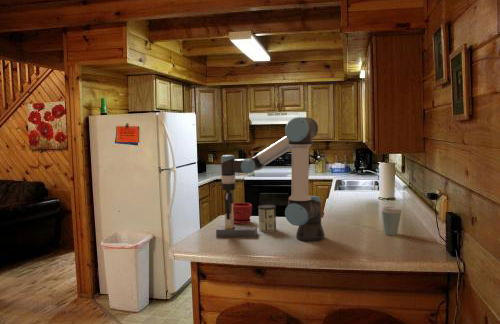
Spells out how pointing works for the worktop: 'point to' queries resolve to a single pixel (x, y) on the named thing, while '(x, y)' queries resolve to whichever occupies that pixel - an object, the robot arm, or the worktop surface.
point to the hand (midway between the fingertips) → (229, 223)
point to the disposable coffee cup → (391, 220)
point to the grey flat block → (236, 232)
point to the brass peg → (231, 219)
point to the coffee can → (267, 218)
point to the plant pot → (242, 216)
